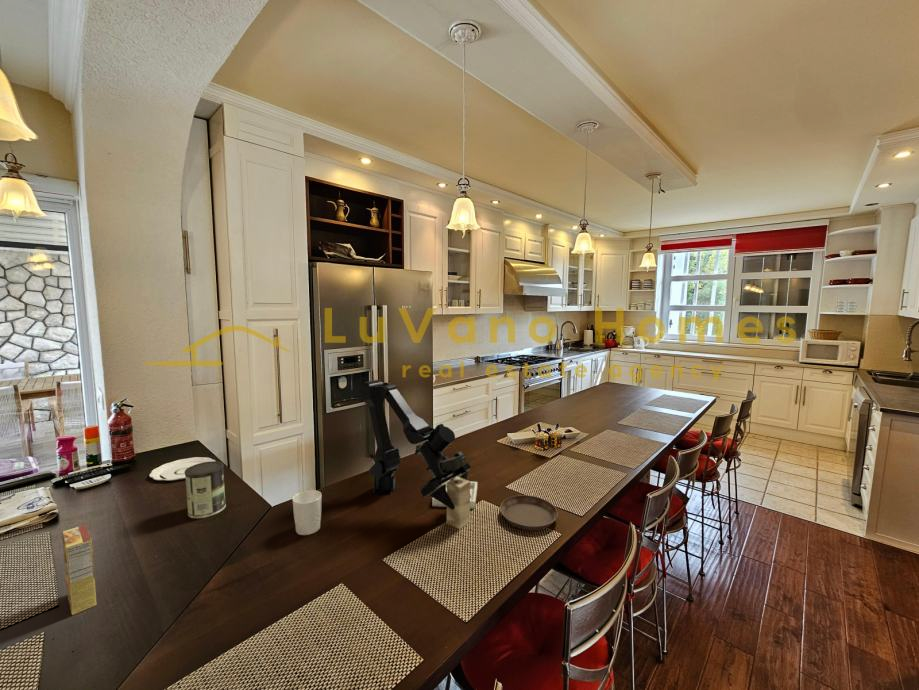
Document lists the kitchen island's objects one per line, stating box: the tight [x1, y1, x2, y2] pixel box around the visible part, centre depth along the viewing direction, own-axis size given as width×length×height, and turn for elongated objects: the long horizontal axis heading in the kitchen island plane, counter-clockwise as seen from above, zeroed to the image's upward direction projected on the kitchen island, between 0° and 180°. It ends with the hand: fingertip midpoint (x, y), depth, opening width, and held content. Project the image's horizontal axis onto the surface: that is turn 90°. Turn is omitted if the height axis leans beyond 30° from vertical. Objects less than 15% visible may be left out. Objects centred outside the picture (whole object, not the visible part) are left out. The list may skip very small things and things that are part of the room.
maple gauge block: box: [446, 477, 471, 530], centre depth 117 cm, size 5×5×13 cm
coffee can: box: [184, 460, 227, 519], centre depth 123 cm, size 10×10×14 cm
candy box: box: [61, 524, 97, 616], centre depth 85 cm, size 9×4×15 cm, turn 50°
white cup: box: [292, 489, 322, 536], centre depth 113 cm, size 8×8×10 cm
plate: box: [148, 456, 216, 481], centre depth 151 cm, size 21×21×2 cm
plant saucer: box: [499, 494, 559, 532], centre depth 121 cm, size 18×18×3 cm
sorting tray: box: [431, 480, 478, 510], centre depth 133 cm, size 14×14×2 cm
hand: (462, 503), depth 116 cm, fingers open, 8 cm apart
